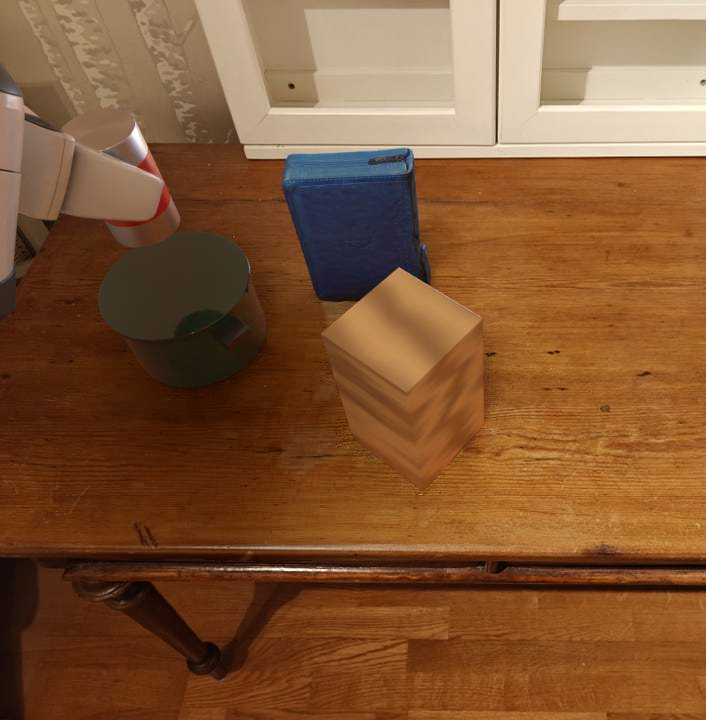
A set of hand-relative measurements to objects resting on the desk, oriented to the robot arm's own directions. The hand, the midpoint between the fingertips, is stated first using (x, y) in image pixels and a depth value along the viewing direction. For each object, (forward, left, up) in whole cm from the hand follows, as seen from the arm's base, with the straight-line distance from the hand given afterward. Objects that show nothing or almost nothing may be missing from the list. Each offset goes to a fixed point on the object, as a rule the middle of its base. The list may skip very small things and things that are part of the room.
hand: (126, 173), depth 65 cm
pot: (-1, 0, -24) cm, 24 cm away
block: (+5, -29, -24) cm, 38 cm away
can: (-1, 0, -6) cm, 6 cm away
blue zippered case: (+17, -11, -24) cm, 31 cm away
